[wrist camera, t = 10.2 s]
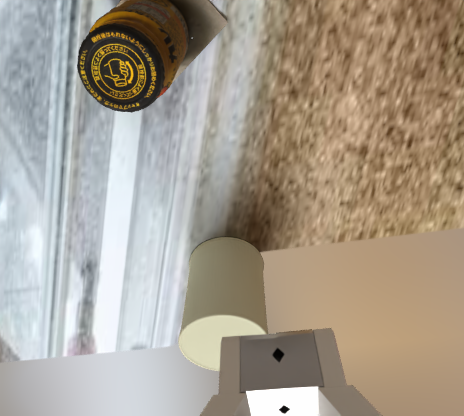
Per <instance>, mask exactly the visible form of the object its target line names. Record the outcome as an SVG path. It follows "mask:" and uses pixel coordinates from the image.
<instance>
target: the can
mask: <svg viewBox="0 0 464 416" xmlns="http://www.w3.org/2000/svg"><path fill="white" fill-rule="evenodd" d="M263 269H264V262H263V258H262V256H261V254H260V252H259V251H258V250H257V249H256V248H255V247H254V246H253V245H251V244H250V243H248V242H246V241H244V240H241V239H238V238H233V237H219V238H214V239H211V240H208V241H206V242H204V243H202V244H201V245H199V246H198V247H197V248H196V249H195V250H194V252H193V253H192V255H191V257H190V261H189V278H188V286H187V293H186V300H185V307H184V313H183V319H182V325H181V331H180V335H179V340H178V342H179V348H180V350H181V352H182V353H183V355H184V356H185V357H186V358H187V359H188V360H189V361H191V362H192V363H194V364H196V365H198V366H200V367H203V368H206V369H210V370H216V371H220V348H221V340H222V337H229V336H244V335H260V334H268V328H267V319H266V306H265V294H264V281H263Z"/></svg>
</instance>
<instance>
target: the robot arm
mask: <svg viewBox="0 0 464 416" xmlns="http://www.w3.org/2000/svg"><path fill="white" fill-rule="evenodd" d="M200 416H382V415H381V414H380V413H379V412H378V411H377V410H376V409H375V408H374V407H373V406H372V405H371V404H370V403H369V401H368V400H367V399H366V398H365V397H363V395H362V394H361V393H360V392H359V391H358V390H357V389H356V388H355V387H354V386H353V385H347V384H346V380H345V376H344V372H343V368H342V363H341V360H340V355H339V351H338V348H337V343H336V339H335V335H334V332H333V330H332V329H331V328H326V329H316V330H313V331H312V329H310V330H300V331H289V332H279V333H276V334H260V335H244V336H229V337H222V340H221V348H220V374H219V394H218V395H213V396H212V398H211V399H210V401H209V402H208V404H207V406H206V407H205V408H204V410H203V412H202V413H201V414H200Z"/></svg>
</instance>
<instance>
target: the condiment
mask: <svg viewBox="0 0 464 416" xmlns="http://www.w3.org/2000/svg"><path fill="white" fill-rule="evenodd" d="M227 23H228V22H227V21H226V20H225V19H224V18H223V16H222V15H221V14H220V13H219V12H218V11H217V10H216V9H215V7H214V6H213V5H212V4H211V3H210V2H209V1H208V0H121V1H120V2H119V4H118V5H117V6H116V7H115V8H113V9H111V10H110V12H108V13H106V14H105V15H104V16H102V17H100V18H99V19H98V20H97V21H96V23H95V24H94V25H93V27H92V28H91V30H90V32H89V34H88V35H87V36H86V39H85V40H83V42H82V44H81V47H80V50H79V56H78V64H77V68H78V73H79V76H80V78H81V80H82V82H83V85H84V86H85V88H86V90H87V91H88V92H89V93H90V94H91V95H92V96H93V97H94V98H95V99H96V100H97V101H98V102H99V103H100V104H102V105H103V106H105V107H107V108H110V109H112V110H115V111H121V112H135V111H139V110H141V109H144V108H146V107H148V106H149V105H150V104H152V103H153V102H154V101H155V100H156V99H157V98H158V97H160V96H161V95H162V94H163V93H165V91H166V90H167V89H168V88H169V87H170V85H171V84H172V83H173V82H174V80H175V79H176V78H177V77H178V76H179V75H180V74H181V73H182V72H183V71H184V70H185V69H186V67H187V66H188V65H189V64H190V63H191V62H192V61H193V60H194V59H195V58H196V57H197V56H198V55H199V54H200V53H201V51H202V50H203V49H204V48H205V47H206V46H207V45H208V44H209V43H210V42H211V41H212V39H213V38H214V37H215V36H216V35H217V34H218V33H219V32H220V31H221V30H222V29H223V28H224V27H225V25H226V24H227ZM191 37H193V39H191Z"/></svg>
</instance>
